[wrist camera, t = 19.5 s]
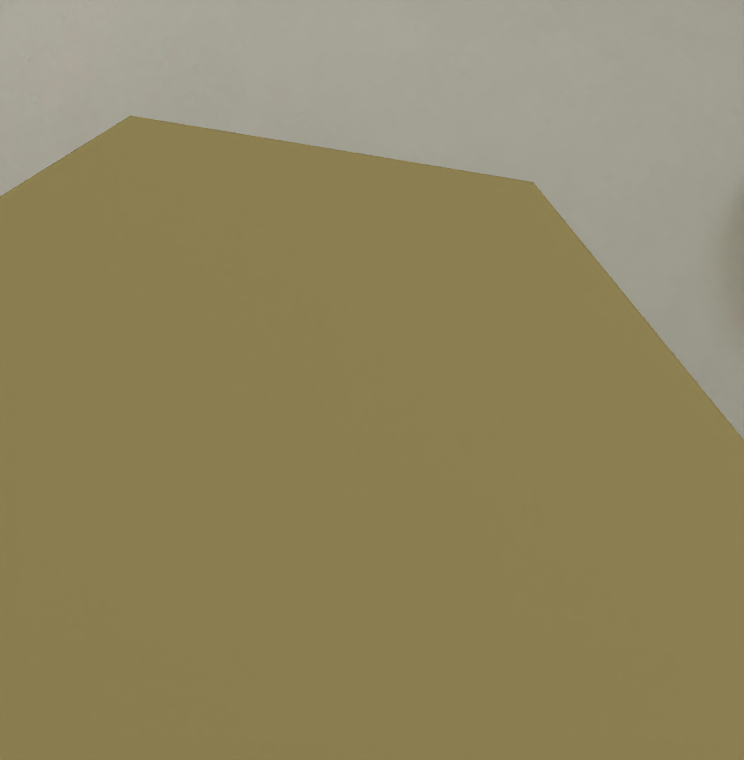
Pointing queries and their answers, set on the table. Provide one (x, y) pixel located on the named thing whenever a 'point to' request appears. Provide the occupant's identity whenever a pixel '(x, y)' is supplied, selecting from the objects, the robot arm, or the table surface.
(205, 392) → the jar
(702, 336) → the table surface
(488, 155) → the table surface
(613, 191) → the table surface
